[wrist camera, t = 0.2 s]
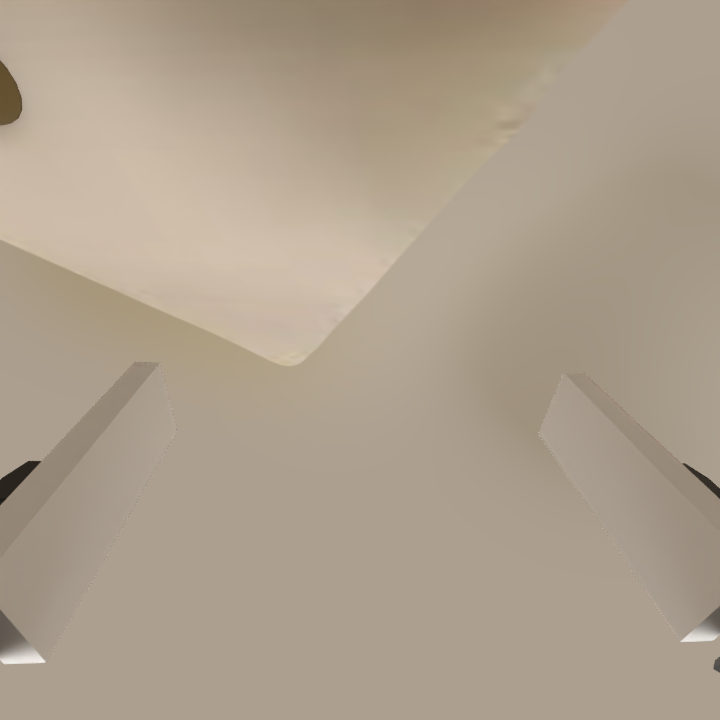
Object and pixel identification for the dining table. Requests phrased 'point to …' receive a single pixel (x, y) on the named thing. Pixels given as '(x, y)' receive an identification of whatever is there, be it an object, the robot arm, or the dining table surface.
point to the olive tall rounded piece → (8, 97)
